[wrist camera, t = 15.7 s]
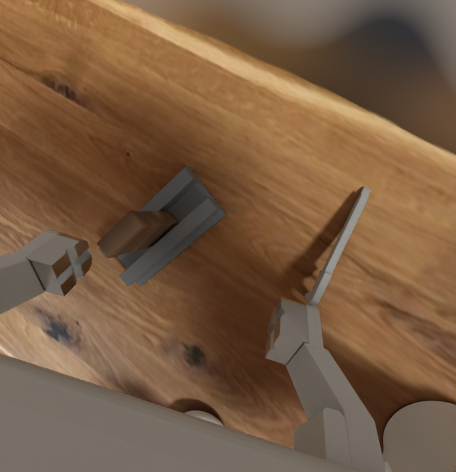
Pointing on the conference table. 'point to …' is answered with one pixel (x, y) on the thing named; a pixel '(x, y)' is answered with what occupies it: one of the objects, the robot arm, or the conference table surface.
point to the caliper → (337, 250)
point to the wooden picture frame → (137, 232)
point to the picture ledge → (182, 235)
